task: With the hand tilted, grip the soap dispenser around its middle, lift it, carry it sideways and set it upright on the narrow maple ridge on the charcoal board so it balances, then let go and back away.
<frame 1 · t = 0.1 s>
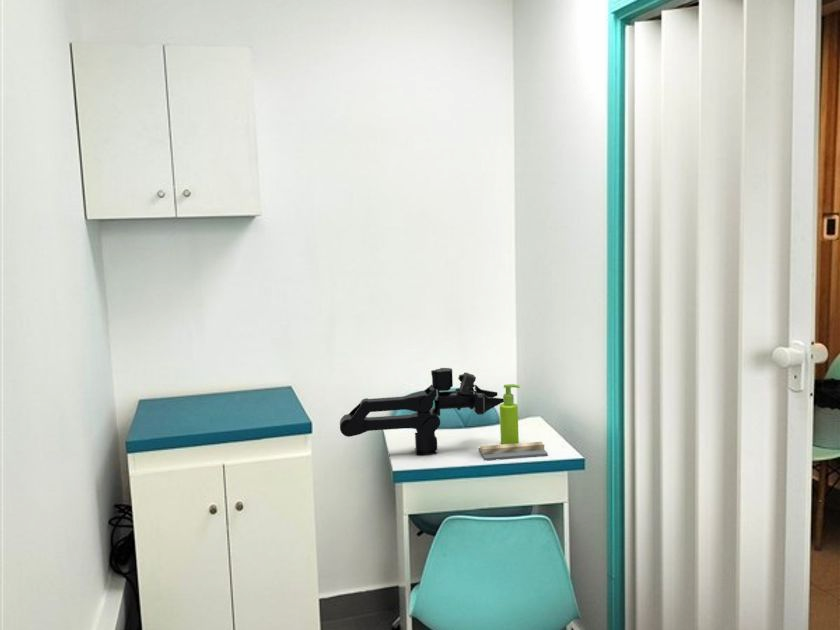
hand: (500, 397, 247), 17 cm above the table, tool horizontal, fingers open, 9 cm apart
base board: (512, 453, 241), on the table
ridge: (512, 448, 241), on the base board, point 1 cm above the table
soap dispenser: (511, 444, 252), on the table
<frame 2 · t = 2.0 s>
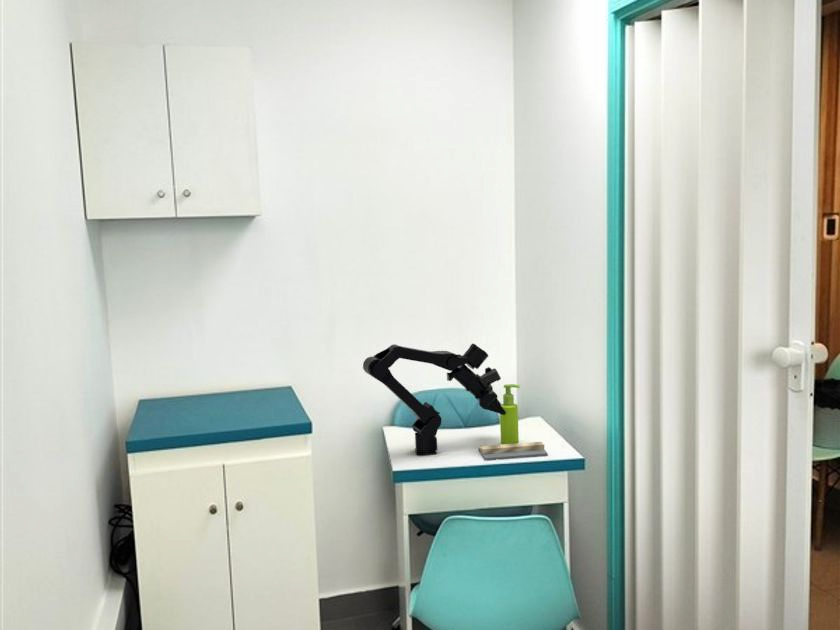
hand: (503, 410, 250), 11 cm above the table, tool tilted 45°, fingers open, 9 cm apart
nothing on the table moved.
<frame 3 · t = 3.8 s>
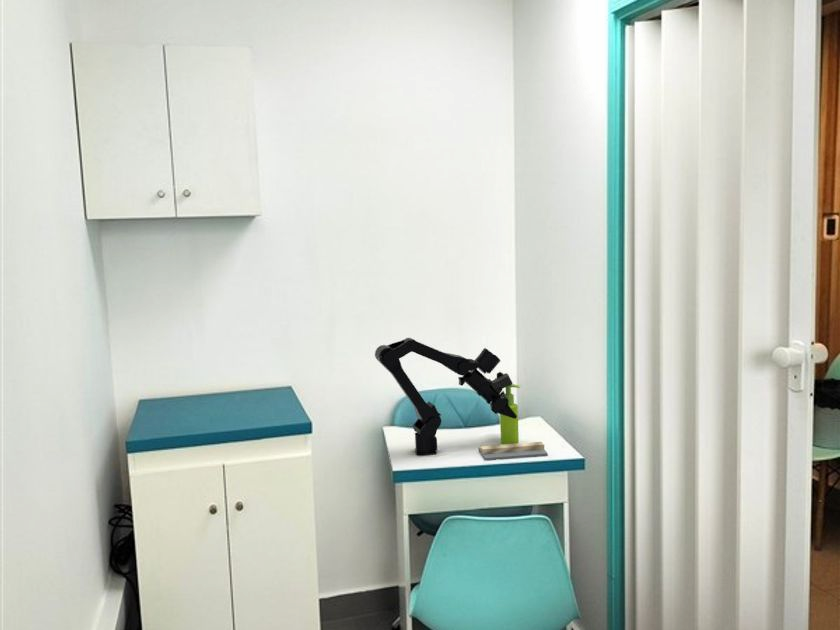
hand: (514, 415, 250), 10 cm above the table, tool tilted 45°, fingers closed on soap dispenser, 6 cm apart
soap dispenser: (511, 444, 252), on the table, touching gripper
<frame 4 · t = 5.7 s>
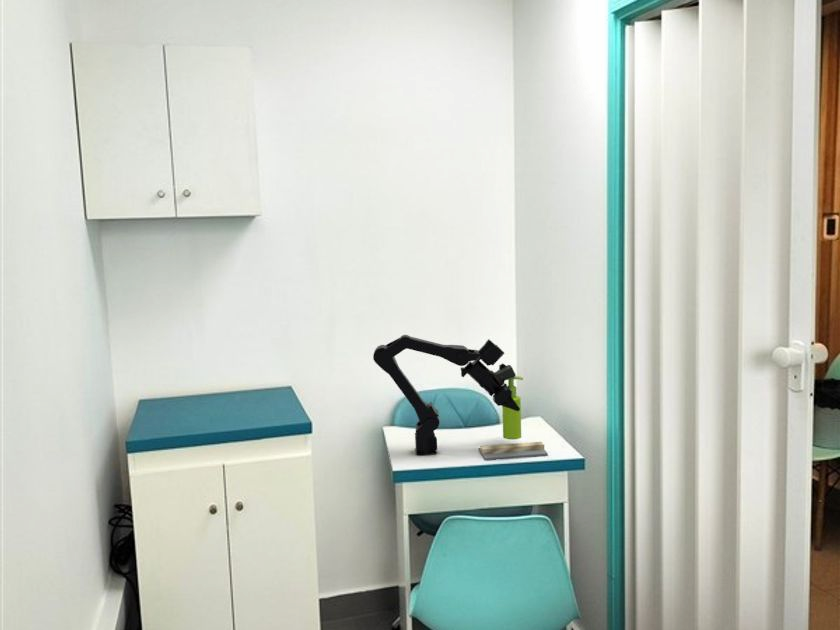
hand: (517, 407, 245), 13 cm above the table, tool tilted 45°, fingers closed on soap dispenser, 6 cm apart
soap dispenser: (513, 437, 246), point 3 cm above the table, touching gripper
when the fingers open (13 cm above the table, at t = 7.9 s): soap dispenser stays where it is, resting on ridge.
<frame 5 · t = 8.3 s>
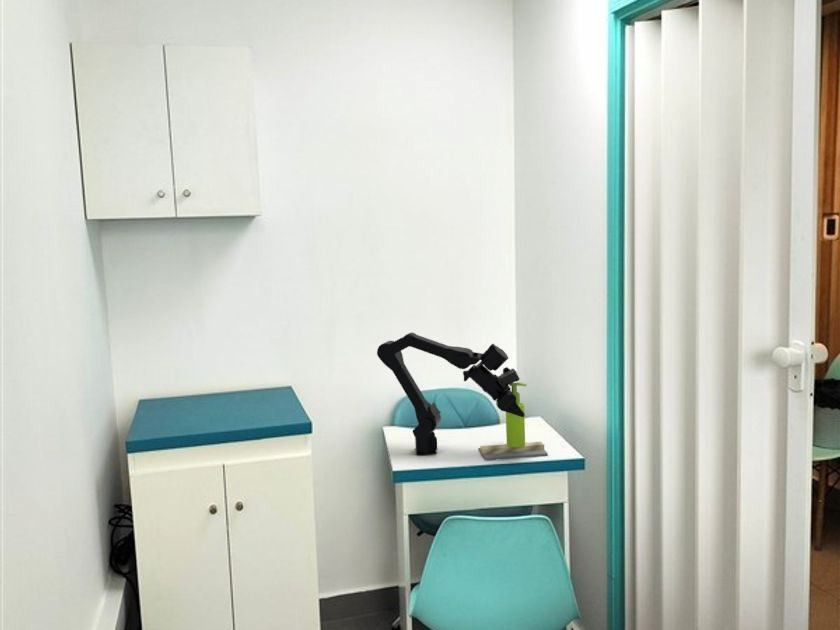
hand: (521, 412, 240), 13 cm above the table, tool tilted 45°, fingers open, 9 cm apart
soap dispenser: (517, 445, 241), point 2 cm above the table, touching ridge
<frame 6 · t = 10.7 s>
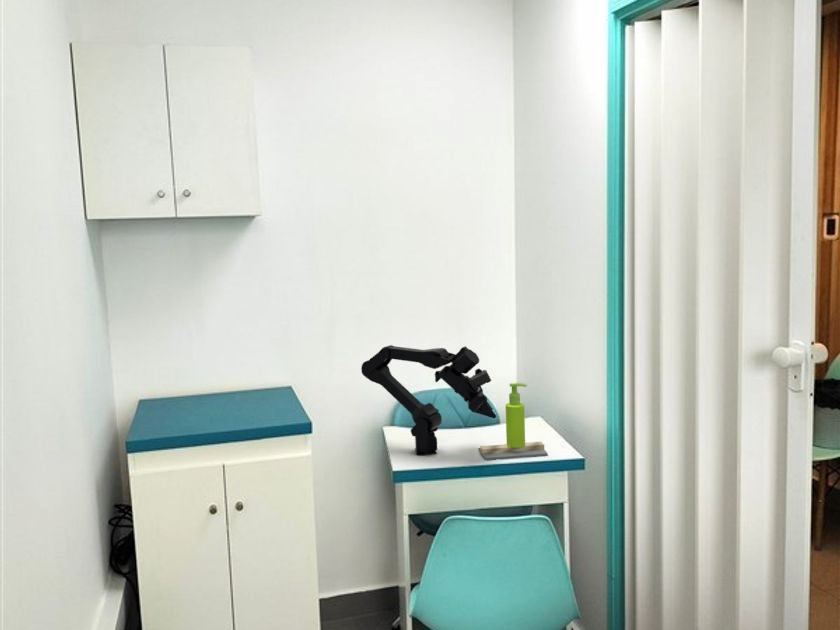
hand: (493, 413, 240), 13 cm above the table, tool tilted 45°, fingers open, 9 cm apart
nothing on the table moved.
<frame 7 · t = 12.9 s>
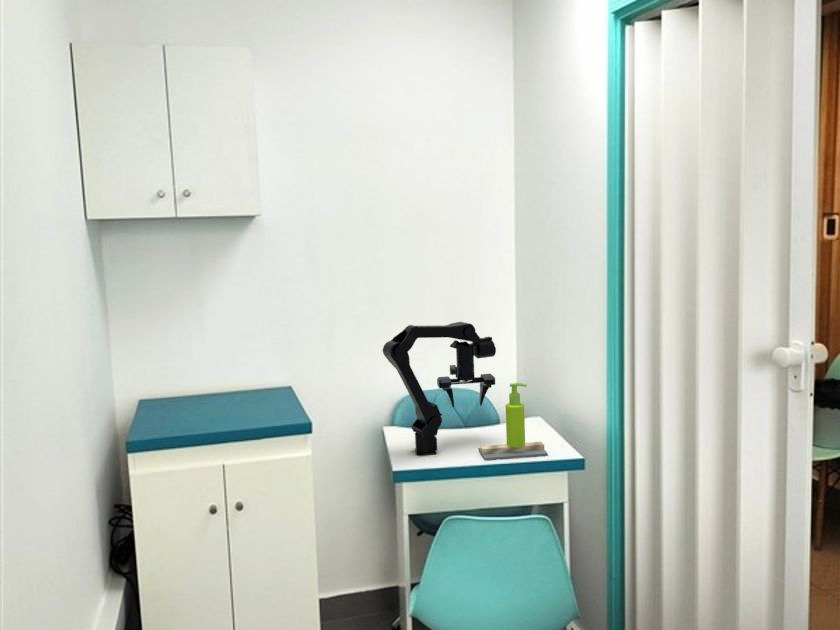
hand: (466, 406, 251), 13 cm above the table, tool pointing down, fingers open, 9 cm apart
nothing on the table moved.
at the end: soap dispenser 0.2 cm from the target spot, point 2.3 cm above the table; soap dispenser tilted 0°; soap dispenser touching ridge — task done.
